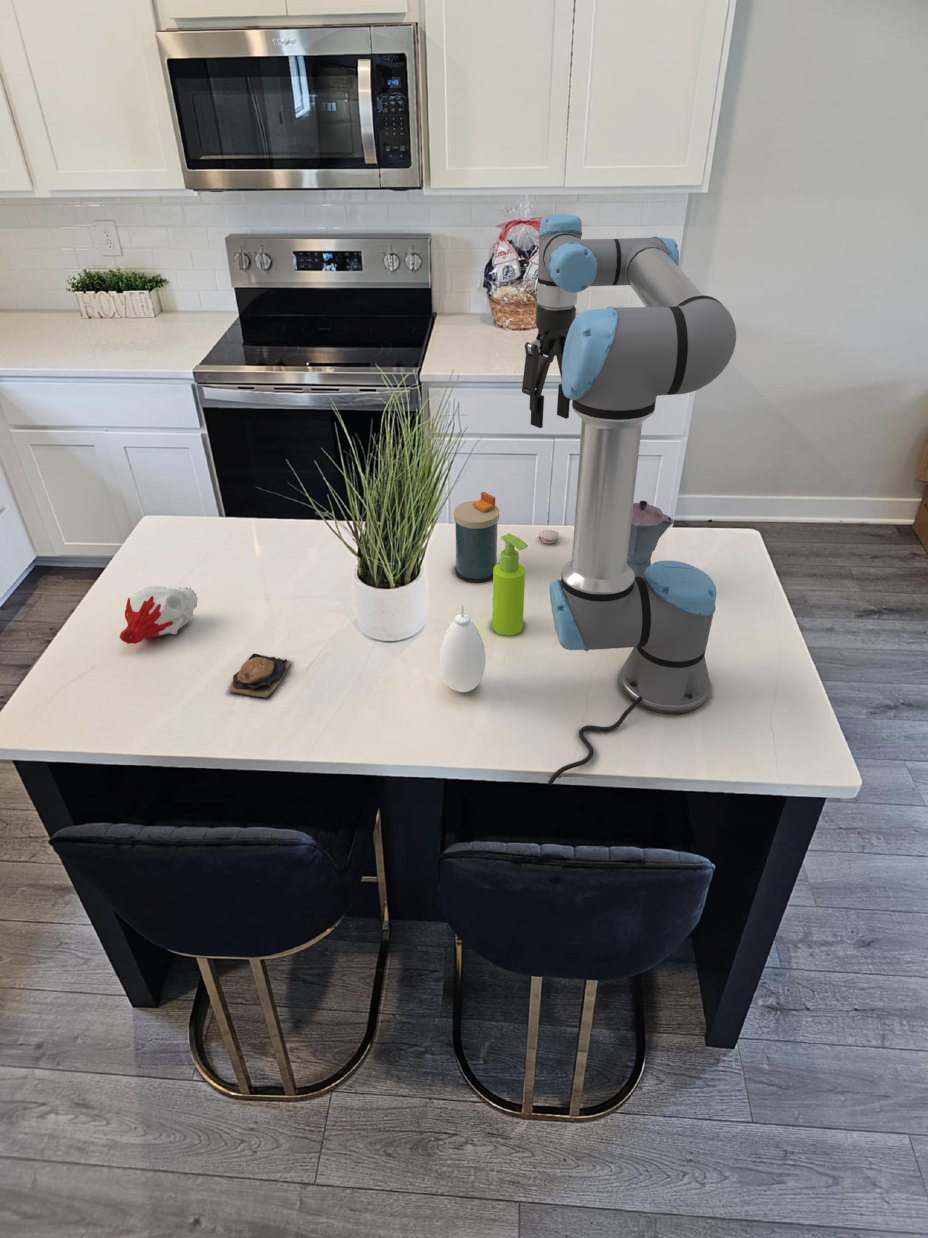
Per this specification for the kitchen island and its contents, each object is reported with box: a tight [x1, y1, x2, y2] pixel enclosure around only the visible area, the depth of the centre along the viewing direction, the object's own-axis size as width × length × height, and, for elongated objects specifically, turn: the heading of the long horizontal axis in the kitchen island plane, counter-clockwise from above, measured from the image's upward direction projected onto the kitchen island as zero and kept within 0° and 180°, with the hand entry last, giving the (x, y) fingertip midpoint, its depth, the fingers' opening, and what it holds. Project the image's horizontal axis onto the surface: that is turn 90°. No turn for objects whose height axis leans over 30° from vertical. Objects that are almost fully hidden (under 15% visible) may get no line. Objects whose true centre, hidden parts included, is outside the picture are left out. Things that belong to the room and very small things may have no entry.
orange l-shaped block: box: [473, 491, 496, 512], centre depth 173 cm, size 3×4×2 cm
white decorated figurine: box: [119, 585, 199, 644], centre depth 161 cm, size 9×11×15 cm
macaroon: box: [538, 529, 559, 544], centre depth 191 cm, size 4×5×2 cm
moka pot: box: [627, 500, 675, 577], centre depth 170 cm, size 10×15×20 cm, turn 78°
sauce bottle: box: [439, 603, 486, 693], centre depth 144 cm, size 8×8×18 cm
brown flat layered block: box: [229, 652, 291, 699], centre depth 151 cm, size 11×8×4 cm
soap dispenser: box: [491, 533, 529, 637], centre depth 158 cm, size 6×7×20 cm
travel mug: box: [453, 500, 500, 584], centre depth 177 cm, size 9×9×14 cm
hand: (549, 420), depth 173 cm, fingers open, 7 cm apart
